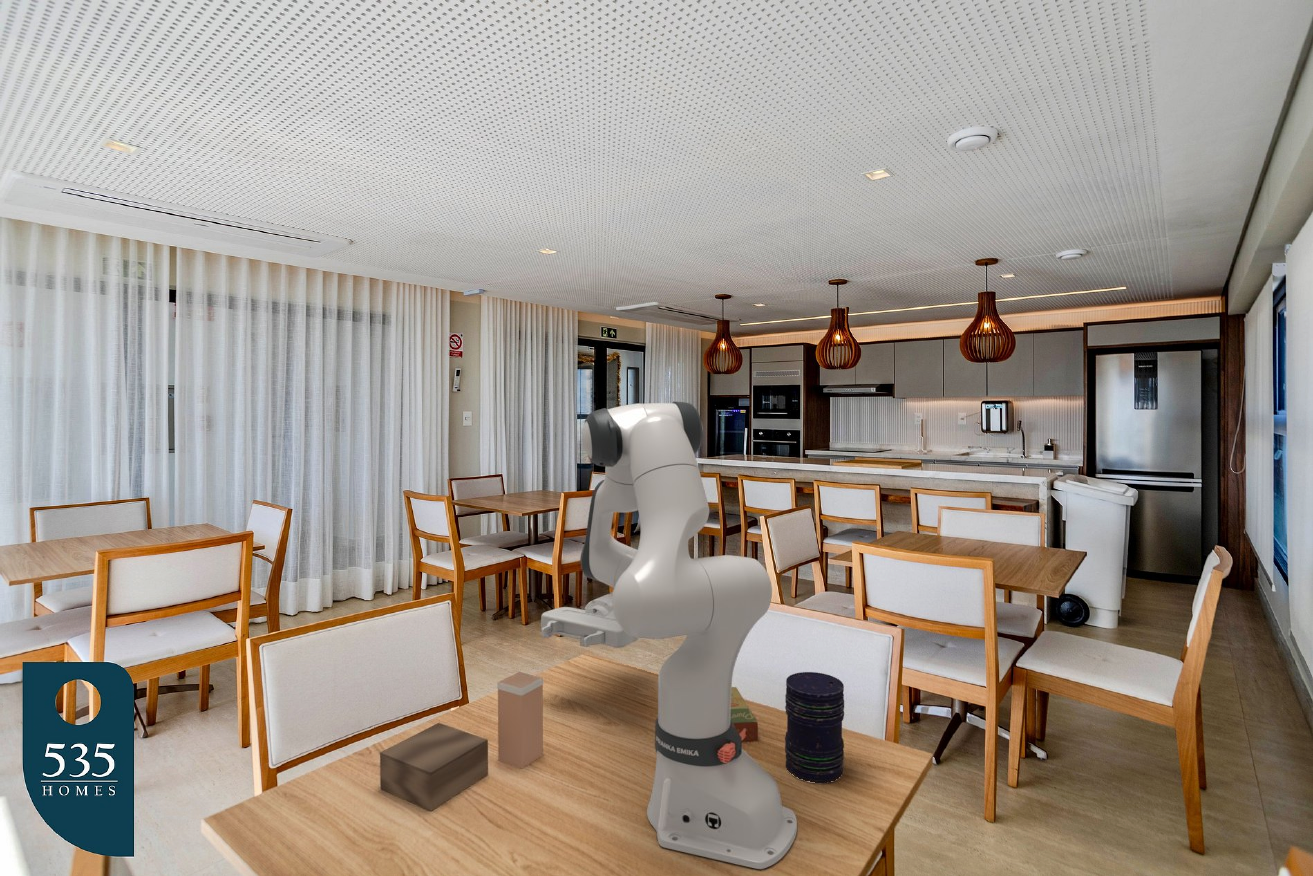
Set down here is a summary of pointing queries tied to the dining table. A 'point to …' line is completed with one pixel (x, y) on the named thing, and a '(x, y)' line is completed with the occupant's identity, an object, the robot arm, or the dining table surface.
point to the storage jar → (814, 726)
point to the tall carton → (520, 719)
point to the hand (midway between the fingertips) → (563, 638)
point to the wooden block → (433, 765)
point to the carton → (743, 716)
